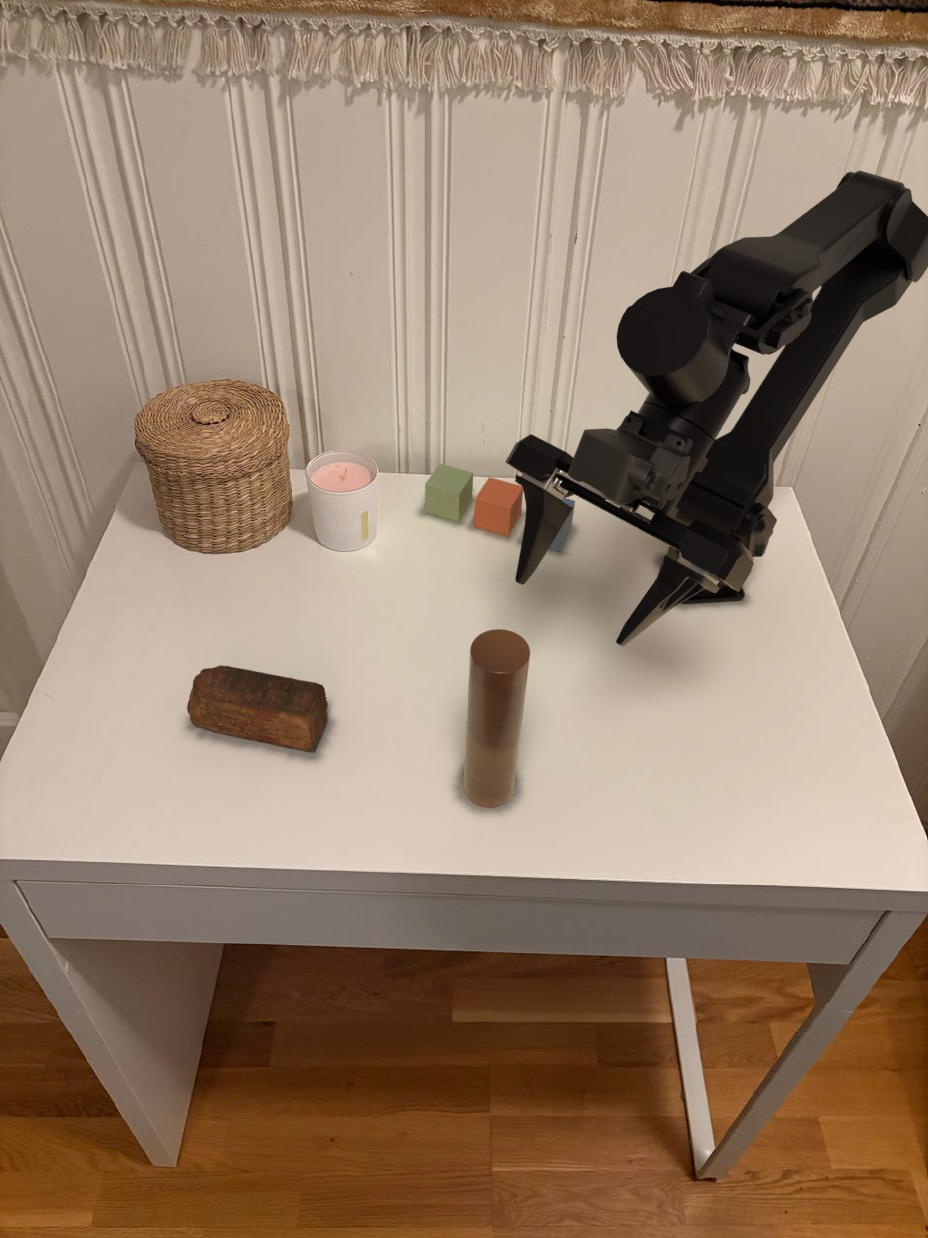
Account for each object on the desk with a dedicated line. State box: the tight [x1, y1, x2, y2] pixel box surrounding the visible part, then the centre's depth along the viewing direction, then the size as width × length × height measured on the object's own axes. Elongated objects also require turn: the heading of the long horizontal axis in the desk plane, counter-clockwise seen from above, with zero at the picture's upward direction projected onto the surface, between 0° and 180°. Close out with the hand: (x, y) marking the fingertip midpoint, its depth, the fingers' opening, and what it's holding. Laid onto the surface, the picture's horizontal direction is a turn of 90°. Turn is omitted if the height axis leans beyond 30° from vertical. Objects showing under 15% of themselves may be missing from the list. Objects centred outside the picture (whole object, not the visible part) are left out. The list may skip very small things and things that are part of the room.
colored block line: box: [424, 463, 576, 552], centre depth 95 cm, size 15×4×4 cm, turn 67°
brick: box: [186, 665, 329, 752], centre depth 75 cm, size 11×4×5 cm, turn 77°
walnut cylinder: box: [463, 628, 531, 809], centre depth 68 cm, size 4×4×16 cm
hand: (567, 613), depth 68 cm, fingers open, 9 cm apart
